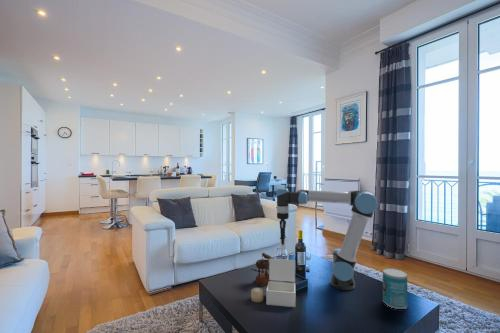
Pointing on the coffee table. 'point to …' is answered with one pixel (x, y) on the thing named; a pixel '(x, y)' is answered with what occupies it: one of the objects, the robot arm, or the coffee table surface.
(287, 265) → the lid
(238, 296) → the coffee table surface
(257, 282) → the brown tall irregular piece
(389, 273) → the food can
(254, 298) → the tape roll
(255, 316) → the coffee table surface
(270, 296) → the carton
